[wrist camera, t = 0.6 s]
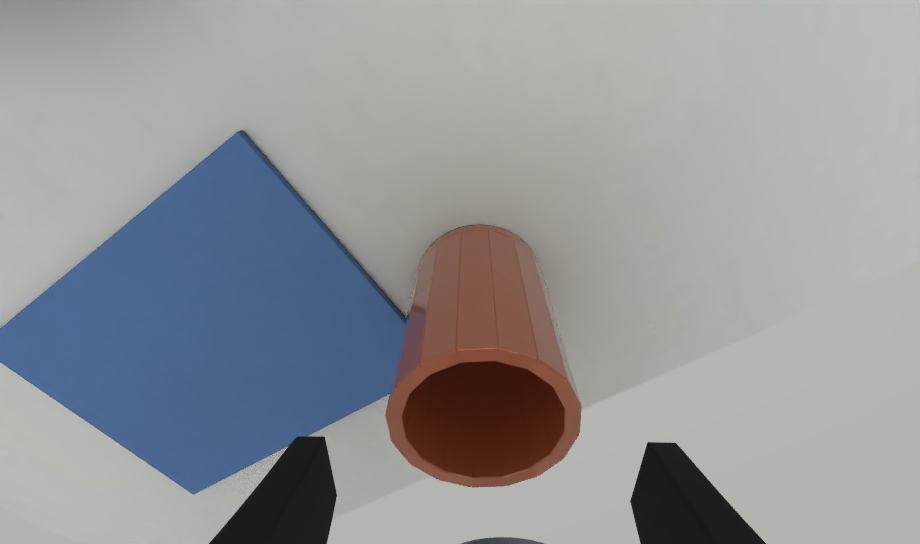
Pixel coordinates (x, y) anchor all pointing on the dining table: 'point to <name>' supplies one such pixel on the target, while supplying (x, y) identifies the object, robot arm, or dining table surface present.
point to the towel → (212, 325)
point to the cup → (482, 365)
